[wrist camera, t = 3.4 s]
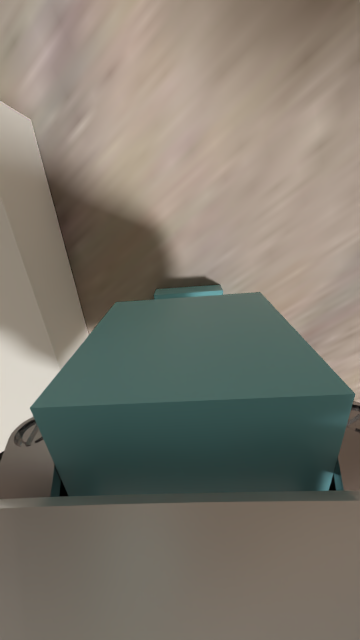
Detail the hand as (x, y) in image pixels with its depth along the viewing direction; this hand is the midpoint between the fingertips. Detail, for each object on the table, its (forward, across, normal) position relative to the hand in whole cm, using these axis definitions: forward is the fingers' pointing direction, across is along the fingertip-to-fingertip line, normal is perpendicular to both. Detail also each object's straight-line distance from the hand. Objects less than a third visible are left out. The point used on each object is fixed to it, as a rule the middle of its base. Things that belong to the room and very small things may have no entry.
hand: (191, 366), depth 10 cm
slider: (+6, 0, 0) cm, 6 cm away
